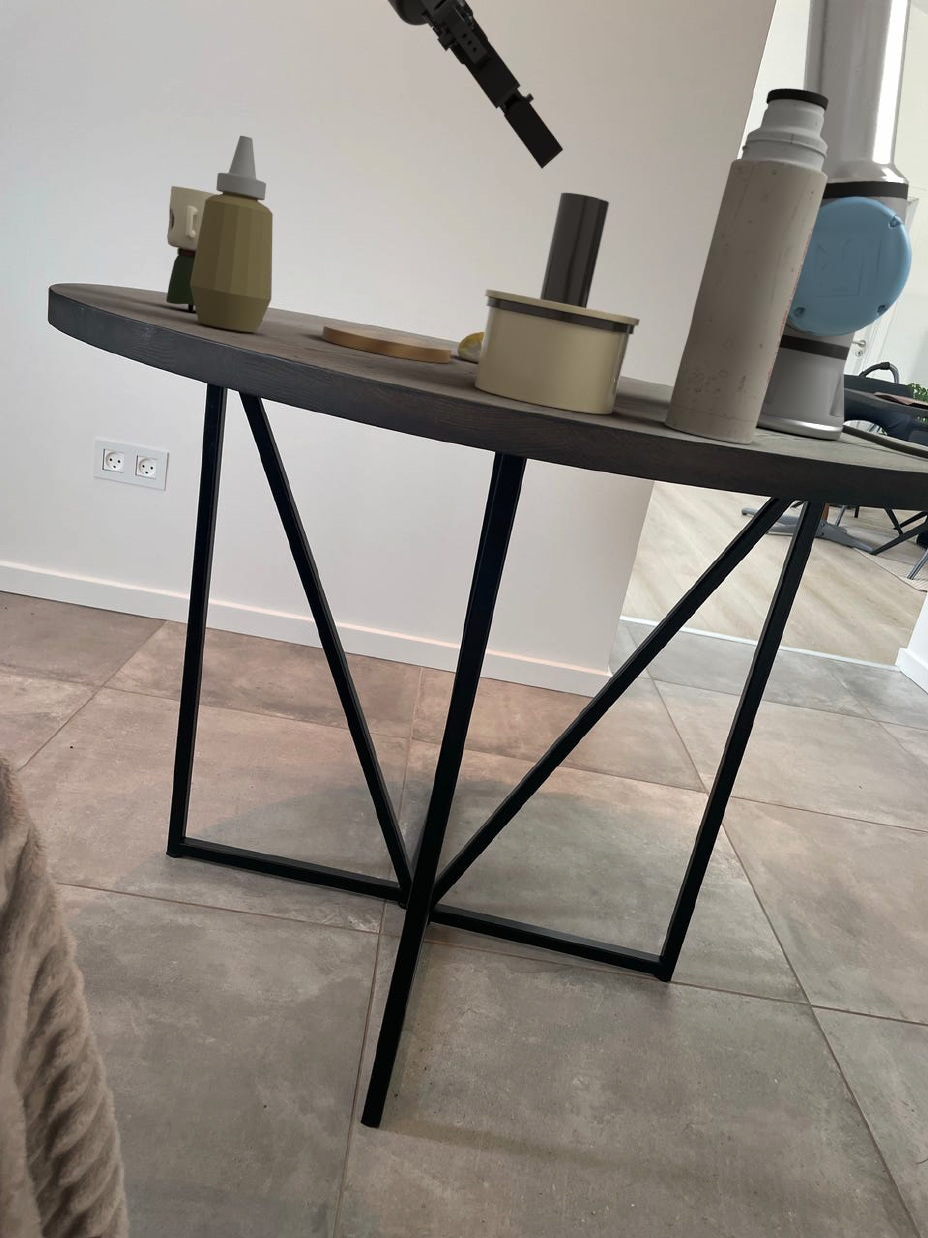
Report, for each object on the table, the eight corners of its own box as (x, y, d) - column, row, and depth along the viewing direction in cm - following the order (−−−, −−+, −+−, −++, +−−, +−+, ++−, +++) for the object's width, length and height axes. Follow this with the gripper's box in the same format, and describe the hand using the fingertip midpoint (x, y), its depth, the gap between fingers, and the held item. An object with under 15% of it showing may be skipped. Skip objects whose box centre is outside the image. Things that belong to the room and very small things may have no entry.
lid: (622, 322, 92) (646, 219, 89) (655, 329, 79) (684, 208, 76) (480, 294, 91) (499, 189, 88) (489, 296, 77) (512, 171, 74)
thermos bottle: (746, 438, 88) (840, 113, 79) (755, 448, 81) (859, 90, 72) (663, 420, 89) (746, 97, 80) (664, 428, 82) (756, 73, 73)
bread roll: (528, 369, 122) (534, 338, 121) (509, 370, 114) (516, 337, 113) (470, 356, 124) (475, 326, 123) (447, 356, 116) (453, 324, 115)
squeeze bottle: (279, 339, 95) (302, 147, 89) (203, 328, 90) (221, 124, 84) (249, 328, 101) (268, 147, 95) (175, 317, 96) (191, 126, 90)
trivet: (448, 357, 116) (450, 345, 116) (450, 367, 102) (453, 353, 102) (328, 334, 115) (330, 322, 114) (314, 341, 101) (316, 327, 100)
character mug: (178, 305, 114) (187, 191, 110) (235, 316, 114) (246, 203, 110) (147, 306, 104) (156, 180, 100) (210, 318, 104) (222, 193, 100)
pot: (601, 403, 95) (619, 322, 92) (628, 422, 82) (651, 328, 79) (468, 378, 93) (483, 295, 91) (474, 393, 80) (492, 297, 78)
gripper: (433, 56, 102) (538, 204, 99) (316, -90, 79) (448, 97, 75) (485, 2, 99) (595, 153, 96) (380, -164, 76) (520, 26, 73)
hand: (531, 129), depth 86 cm, fingers open, 13 cm apart
